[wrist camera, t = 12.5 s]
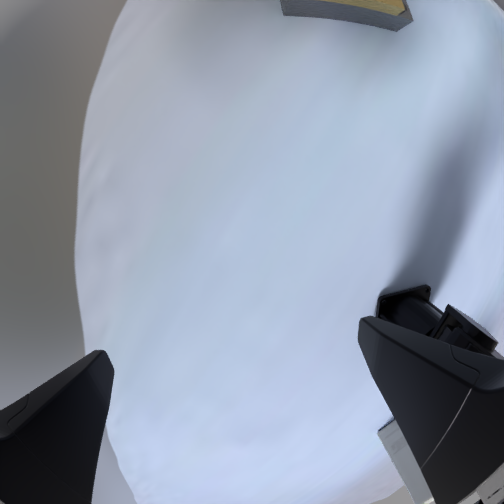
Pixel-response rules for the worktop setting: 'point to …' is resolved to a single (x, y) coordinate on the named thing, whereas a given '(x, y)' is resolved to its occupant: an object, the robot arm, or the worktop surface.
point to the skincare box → (405, 463)
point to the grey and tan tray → (353, 11)
